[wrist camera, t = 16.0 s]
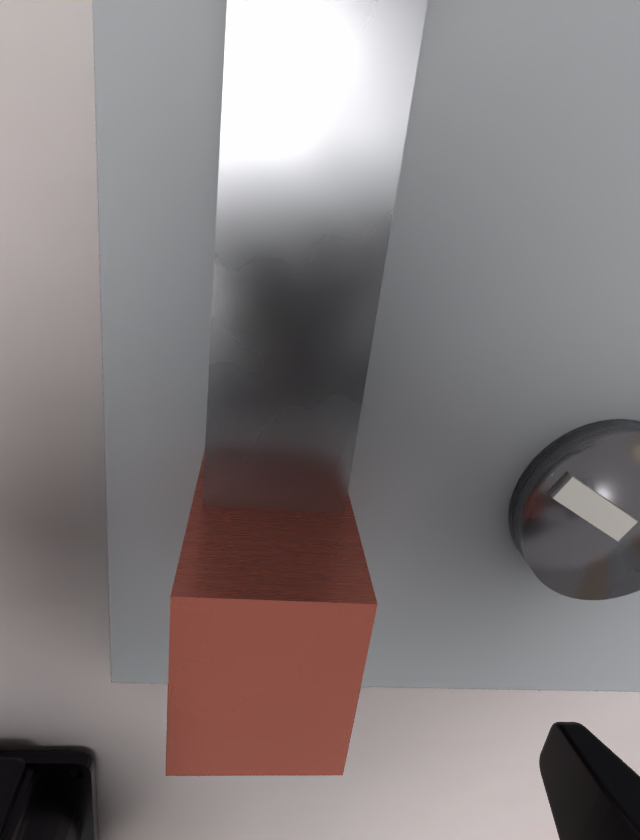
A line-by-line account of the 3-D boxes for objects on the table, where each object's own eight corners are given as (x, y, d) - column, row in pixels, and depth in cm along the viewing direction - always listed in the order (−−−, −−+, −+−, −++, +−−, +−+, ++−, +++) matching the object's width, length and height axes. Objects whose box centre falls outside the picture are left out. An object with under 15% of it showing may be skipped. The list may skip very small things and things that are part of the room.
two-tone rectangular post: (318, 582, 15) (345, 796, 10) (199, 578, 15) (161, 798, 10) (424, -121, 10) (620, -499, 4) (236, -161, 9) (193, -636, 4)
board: (807, 676, 20) (827, 695, 19) (117, 660, 17) (111, 682, 16) (1452, -377, 10) (1544, -421, 9) (86, -869, 7) (65, -991, 6)
